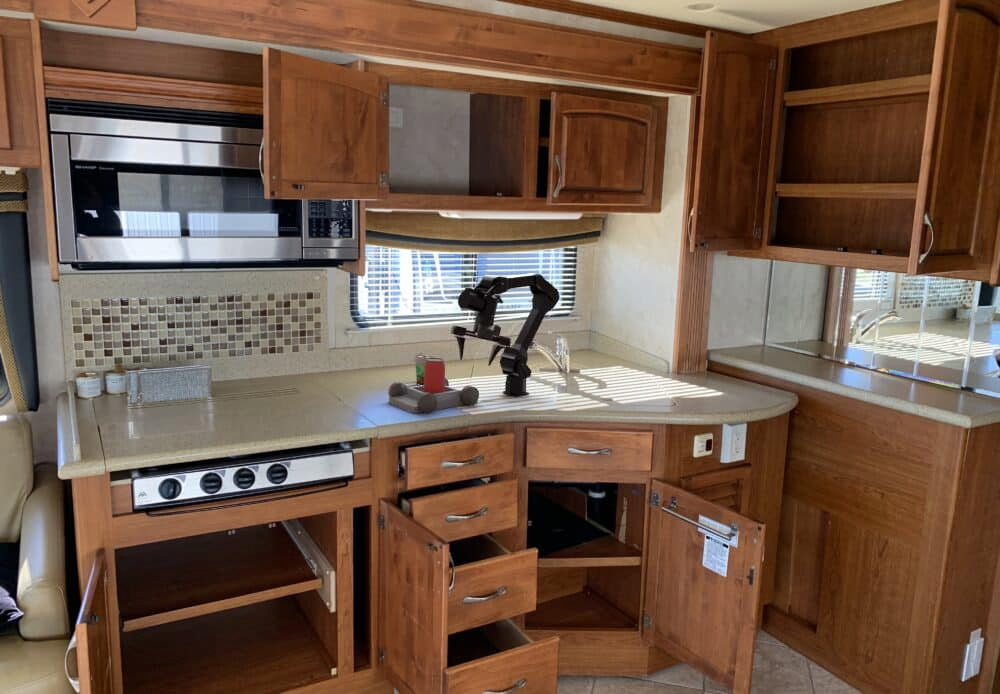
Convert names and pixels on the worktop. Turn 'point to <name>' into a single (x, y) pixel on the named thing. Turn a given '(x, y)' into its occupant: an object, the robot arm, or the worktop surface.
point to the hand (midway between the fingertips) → (475, 362)
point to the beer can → (434, 375)
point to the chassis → (430, 397)
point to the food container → (420, 367)
